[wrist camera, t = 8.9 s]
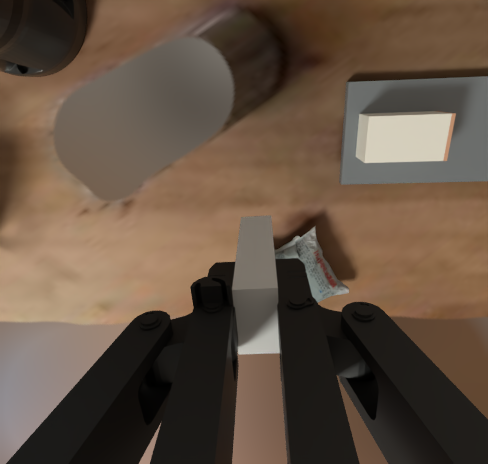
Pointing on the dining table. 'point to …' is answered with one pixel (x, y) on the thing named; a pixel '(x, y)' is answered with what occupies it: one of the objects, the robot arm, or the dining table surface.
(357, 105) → the board
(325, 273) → the packaged food
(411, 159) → the block
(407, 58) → the dining table surface
